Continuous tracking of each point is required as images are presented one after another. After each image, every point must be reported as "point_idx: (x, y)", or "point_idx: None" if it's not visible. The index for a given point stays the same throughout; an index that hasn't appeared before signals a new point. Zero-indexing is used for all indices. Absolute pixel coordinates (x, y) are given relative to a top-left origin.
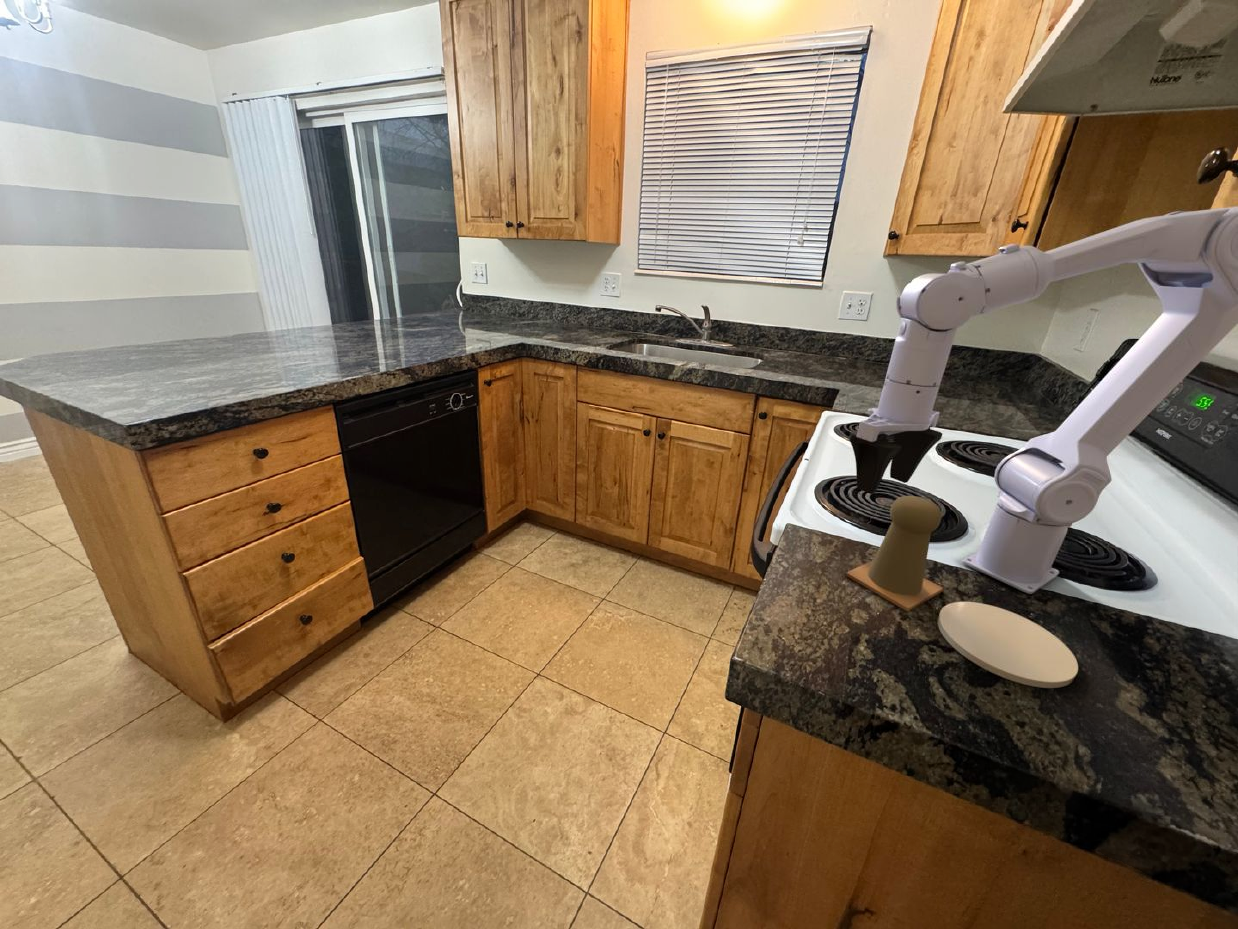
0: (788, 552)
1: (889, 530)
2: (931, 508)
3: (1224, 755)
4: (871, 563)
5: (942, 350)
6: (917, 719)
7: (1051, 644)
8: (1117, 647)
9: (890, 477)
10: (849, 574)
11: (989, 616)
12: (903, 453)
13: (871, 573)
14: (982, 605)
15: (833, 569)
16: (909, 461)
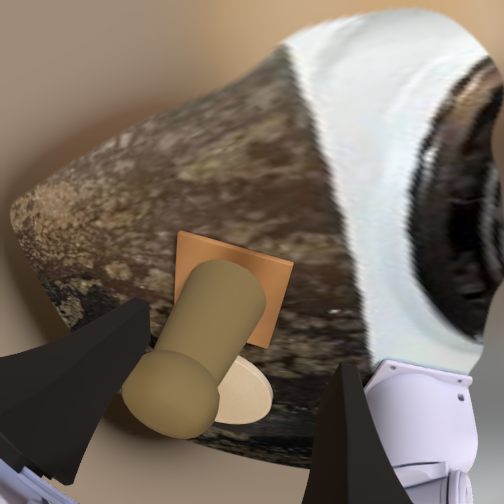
0: (161, 120)
1: (165, 335)
2: (154, 429)
3: (215, 448)
4: (245, 257)
5: None
6: (70, 325)
7: (238, 416)
8: (300, 442)
9: (340, 362)
10: (177, 238)
11: (238, 385)
12: (326, 466)
13: (194, 271)
14: (256, 382)
15: (181, 207)
16: (318, 457)
